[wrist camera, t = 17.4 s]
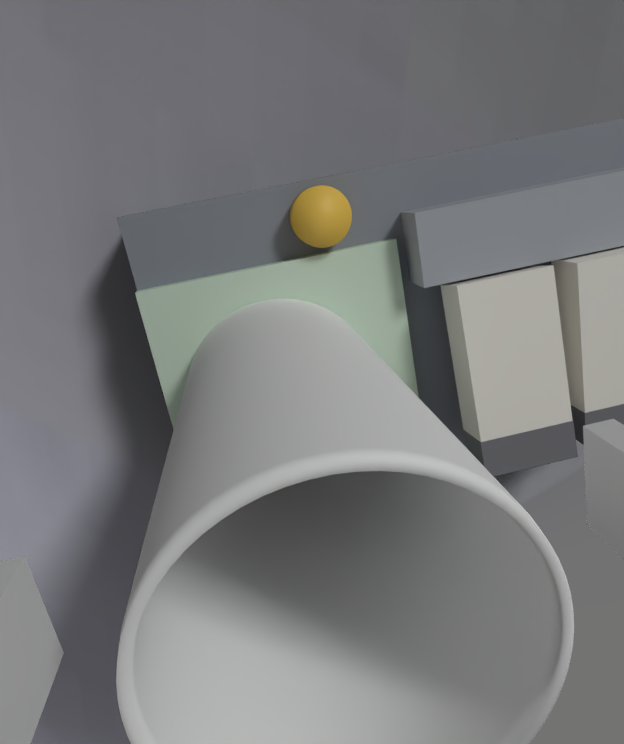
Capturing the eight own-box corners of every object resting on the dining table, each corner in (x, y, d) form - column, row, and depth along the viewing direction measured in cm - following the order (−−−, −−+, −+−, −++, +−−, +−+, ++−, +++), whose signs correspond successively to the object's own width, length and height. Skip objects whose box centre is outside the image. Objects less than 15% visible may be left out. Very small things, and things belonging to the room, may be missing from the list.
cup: (298, 507, 27) (382, 899, 12) (149, 411, 25) (14, 741, 10) (410, 371, 26) (664, 612, 11) (264, 258, 24) (319, 355, 8)
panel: (133, 215, 27) (100, 219, 20) (577, 128, 28) (683, 105, 22) (205, 480, 31) (197, 556, 24) (590, 392, 33) (682, 440, 26)
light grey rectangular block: (456, 286, 23) (486, 478, 24) (554, 265, 23) (577, 456, 24) (439, 285, 25) (468, 463, 26) (529, 266, 25) (552, 443, 26)
